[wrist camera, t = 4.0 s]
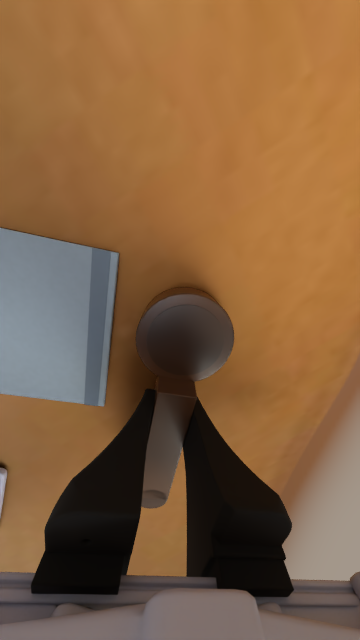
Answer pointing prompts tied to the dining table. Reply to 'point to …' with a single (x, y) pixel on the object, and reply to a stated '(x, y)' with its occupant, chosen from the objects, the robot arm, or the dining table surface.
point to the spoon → (177, 374)
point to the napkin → (55, 318)
